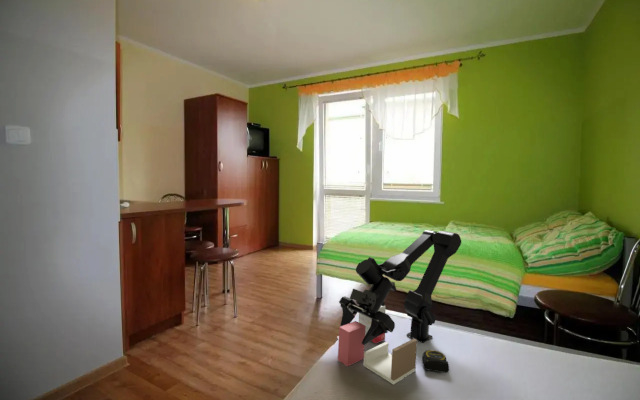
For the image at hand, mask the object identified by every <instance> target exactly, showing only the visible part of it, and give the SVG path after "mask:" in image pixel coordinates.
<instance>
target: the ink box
mask: <svg viewBox="0 0 640 400" xmlns="http://www.w3.org/2000/svg"><path fill="white" fill-rule="evenodd" d="M378 311H381V312H383V313H385V314H386V305H384V306H381V307H380V309H379V310H378ZM363 312H364V311H363ZM369 315H370V314H369ZM371 321H372V319H371V318H369V317H367V316H364V315H362V314H360V313H358V322H359V323H361V324H363V325H365V326H366V327H365V335H366V333H367V332H368V330H369V328H370V326H371ZM385 339H386V333H383V334H381V335H379V336H377V337H376V338H374V339H373V340H371V341H370V342H372V343H374V344H378V343H381V342H383V341H385Z"/></svg>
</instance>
